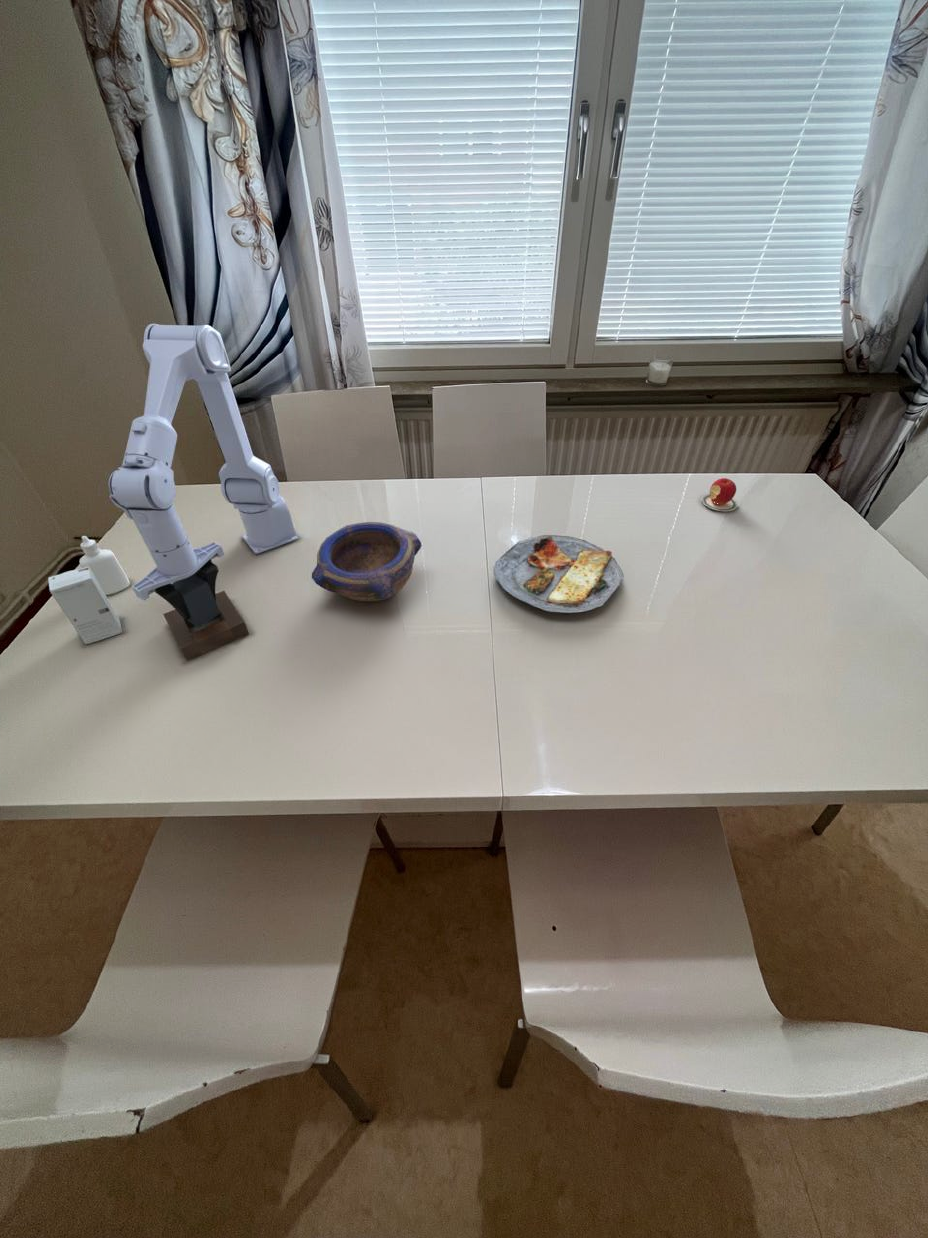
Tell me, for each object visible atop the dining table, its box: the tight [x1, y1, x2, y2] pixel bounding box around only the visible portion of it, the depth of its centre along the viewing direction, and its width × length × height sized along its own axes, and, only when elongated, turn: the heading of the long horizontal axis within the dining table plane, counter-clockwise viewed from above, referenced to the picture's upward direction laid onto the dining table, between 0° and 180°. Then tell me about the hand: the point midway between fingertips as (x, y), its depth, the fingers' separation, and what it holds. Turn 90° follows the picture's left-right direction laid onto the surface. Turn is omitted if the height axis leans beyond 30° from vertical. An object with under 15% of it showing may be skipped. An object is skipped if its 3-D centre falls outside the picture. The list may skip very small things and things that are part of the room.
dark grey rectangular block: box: [170, 574, 220, 628], centre depth 87 cm, size 4×4×7 cm
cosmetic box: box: [47, 567, 123, 645], centre depth 87 cm, size 6×4×12 cm
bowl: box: [311, 521, 422, 602], centre depth 97 cm, size 18×18×10 cm
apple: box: [701, 477, 738, 512], centre depth 121 cm, size 8×8×6 cm
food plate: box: [492, 534, 624, 614], centre depth 101 cm, size 25×23×4 cm
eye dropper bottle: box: [79, 535, 131, 596], centre depth 96 cm, size 4×6×12 cm
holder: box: [162, 590, 250, 662], centre depth 91 cm, size 11×11×3 cm
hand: (198, 608), depth 88 cm, fingers closed on dark grey rectangular block, 4 cm apart
